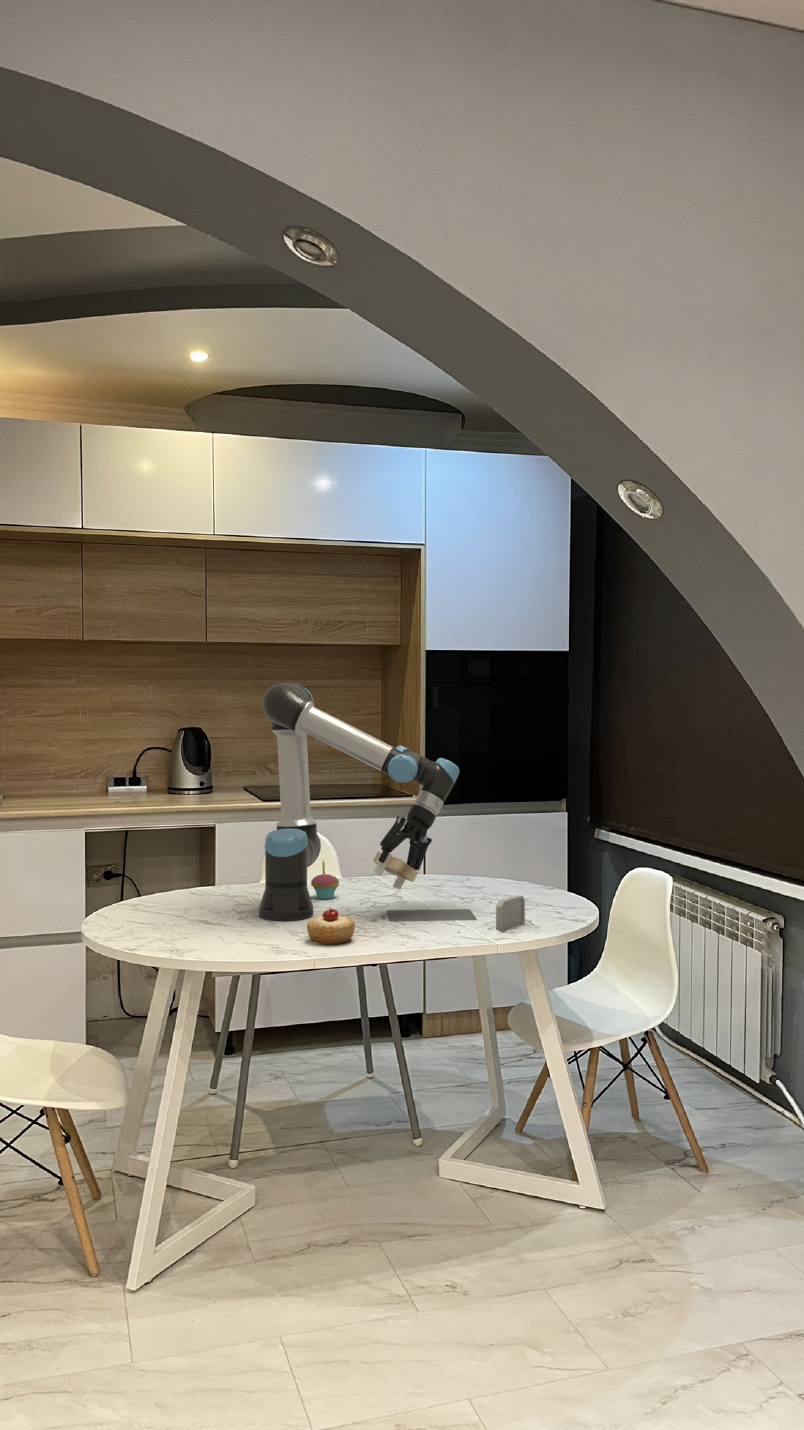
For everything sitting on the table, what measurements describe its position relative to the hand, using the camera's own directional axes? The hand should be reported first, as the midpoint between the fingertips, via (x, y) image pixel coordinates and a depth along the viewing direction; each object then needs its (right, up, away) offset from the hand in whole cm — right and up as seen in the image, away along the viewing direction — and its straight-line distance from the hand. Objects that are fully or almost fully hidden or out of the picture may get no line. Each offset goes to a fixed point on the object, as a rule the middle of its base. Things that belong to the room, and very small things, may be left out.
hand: (386, 880), depth 292 cm
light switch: (+33, -11, -11) cm, 37 cm away
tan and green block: (+6, +3, -3) cm, 7 cm away
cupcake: (-19, -10, +27) cm, 35 cm away
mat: (+12, -10, +1) cm, 16 cm away
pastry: (-14, -11, -27) cm, 32 cm away
